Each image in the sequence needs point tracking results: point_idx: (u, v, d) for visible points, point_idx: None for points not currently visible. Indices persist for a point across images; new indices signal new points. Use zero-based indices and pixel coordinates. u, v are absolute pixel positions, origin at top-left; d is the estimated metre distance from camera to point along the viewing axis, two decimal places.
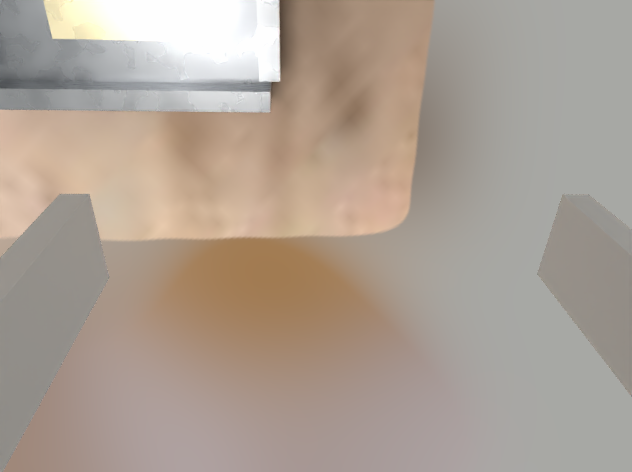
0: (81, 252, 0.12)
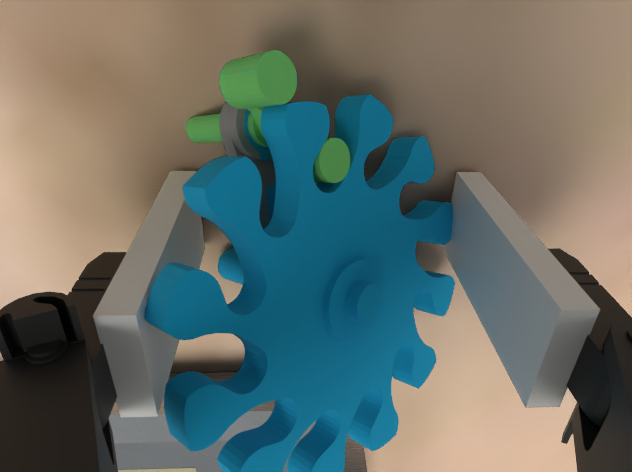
0: (193, 222, 0.14)
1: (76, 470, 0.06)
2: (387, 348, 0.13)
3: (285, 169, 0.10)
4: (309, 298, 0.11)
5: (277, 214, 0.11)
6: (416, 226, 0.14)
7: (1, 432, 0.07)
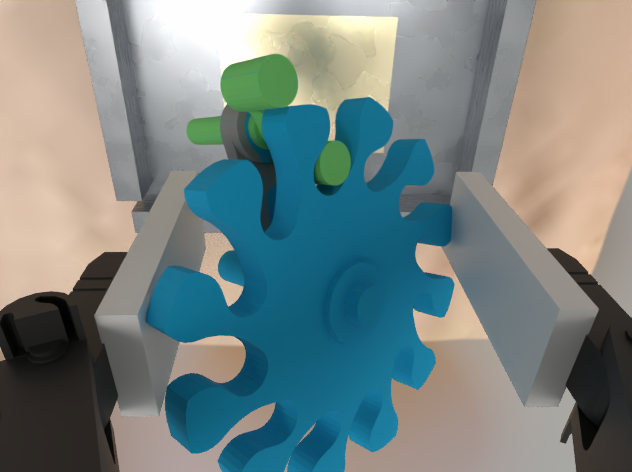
0: (194, 222, 0.14)
1: (78, 470, 0.06)
2: (387, 350, 0.13)
3: (286, 171, 0.11)
4: (310, 300, 0.11)
5: (278, 217, 0.11)
6: (416, 228, 0.14)
7: (3, 431, 0.07)
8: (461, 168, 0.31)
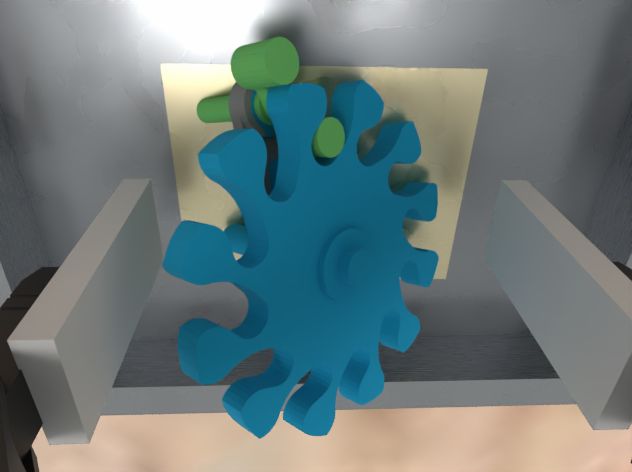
0: (145, 232, 0.13)
1: None
2: (375, 312, 0.15)
3: (287, 143, 0.12)
4: (306, 259, 0.12)
5: (279, 184, 0.12)
6: (403, 202, 0.15)
7: None
8: None
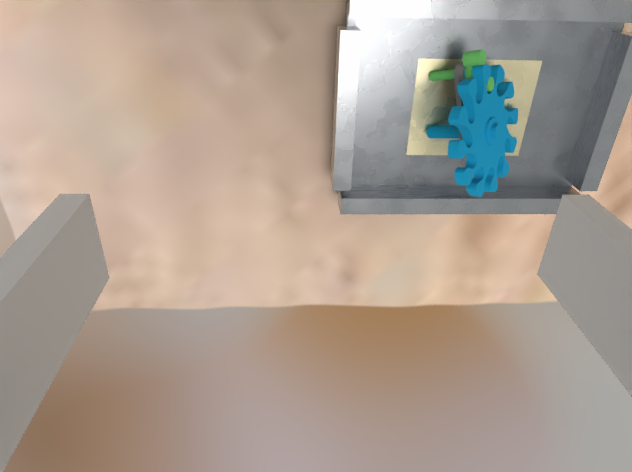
0: (81, 252, 0.12)
1: None
2: (497, 155, 0.38)
3: (478, 85, 0.35)
4: (482, 125, 0.35)
5: None
6: (507, 113, 0.38)
7: None
8: (575, 166, 0.42)
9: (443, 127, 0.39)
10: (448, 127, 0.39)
